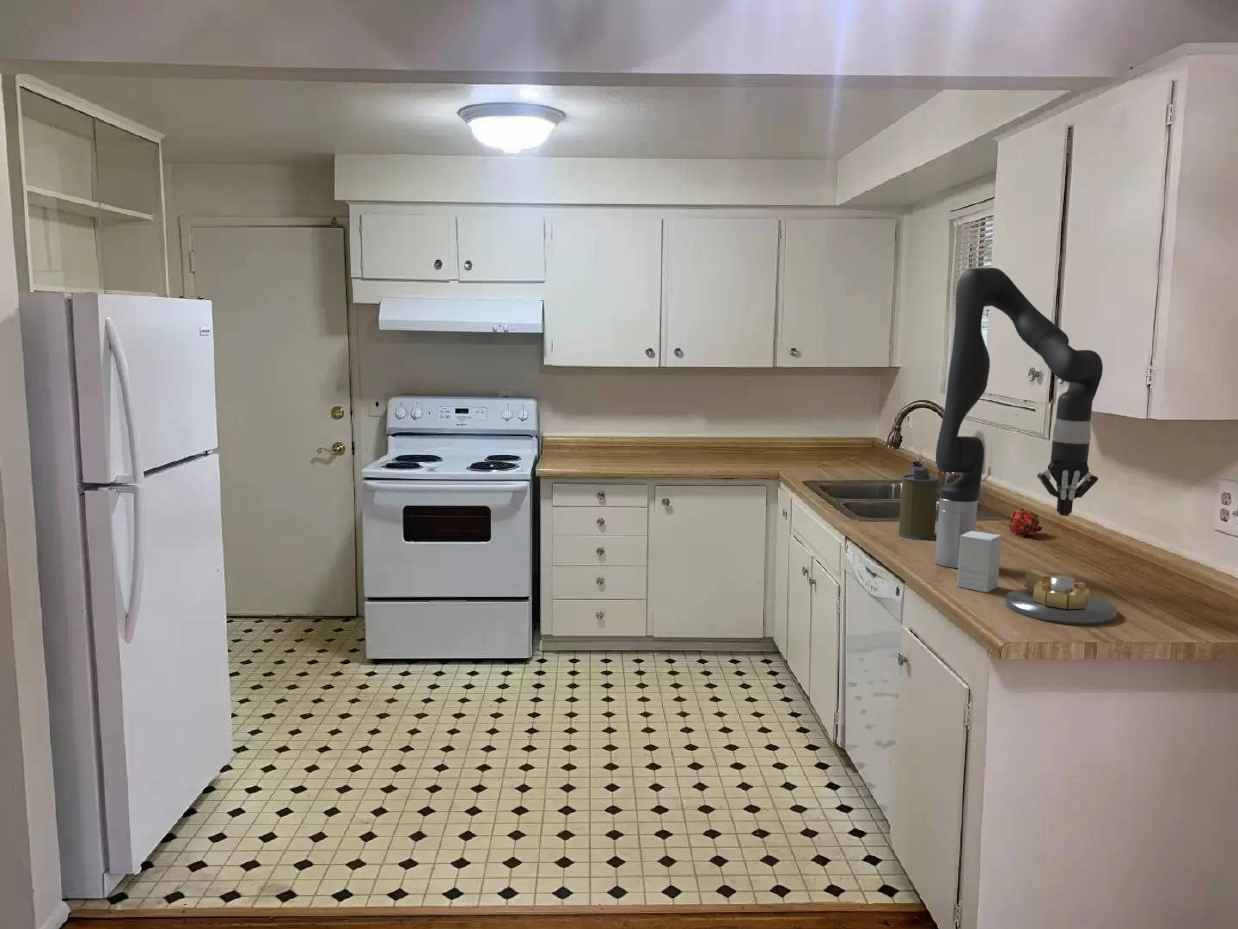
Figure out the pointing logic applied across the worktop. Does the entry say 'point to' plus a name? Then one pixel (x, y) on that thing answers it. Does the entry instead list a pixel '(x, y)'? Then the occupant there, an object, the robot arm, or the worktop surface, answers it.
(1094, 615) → the flange
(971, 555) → the supplement box
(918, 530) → the canister
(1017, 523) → the dragon fruit
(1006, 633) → the worktop surface
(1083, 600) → the tan curved piece
